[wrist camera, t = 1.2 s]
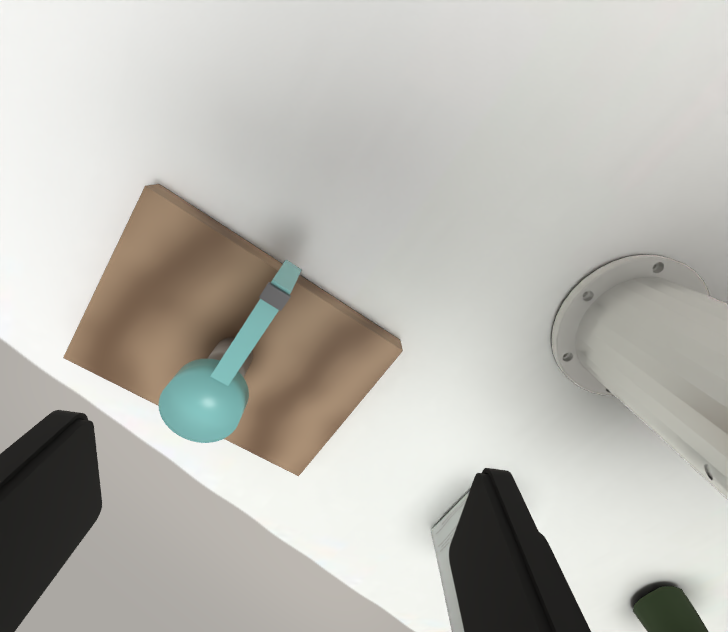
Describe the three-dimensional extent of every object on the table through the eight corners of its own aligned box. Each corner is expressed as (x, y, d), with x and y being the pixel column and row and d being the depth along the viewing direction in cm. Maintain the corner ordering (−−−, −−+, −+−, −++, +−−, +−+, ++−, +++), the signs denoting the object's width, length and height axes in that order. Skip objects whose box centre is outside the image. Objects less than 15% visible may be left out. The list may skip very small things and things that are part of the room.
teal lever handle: (236, 412, 30) (215, 457, 25) (175, 381, 29) (143, 422, 24) (325, 285, 26) (320, 312, 22) (260, 242, 25) (239, 261, 20)
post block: (400, 339, 33) (411, 384, 27) (301, 460, 38) (290, 522, 32) (158, 183, 28) (100, 192, 22) (79, 346, 33) (12, 393, 26)
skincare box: (469, 548, 43) (522, 729, 30) (426, 526, 42) (461, 707, 28) (520, 501, 41) (604, 676, 27) (477, 477, 39) (543, 649, 26)
